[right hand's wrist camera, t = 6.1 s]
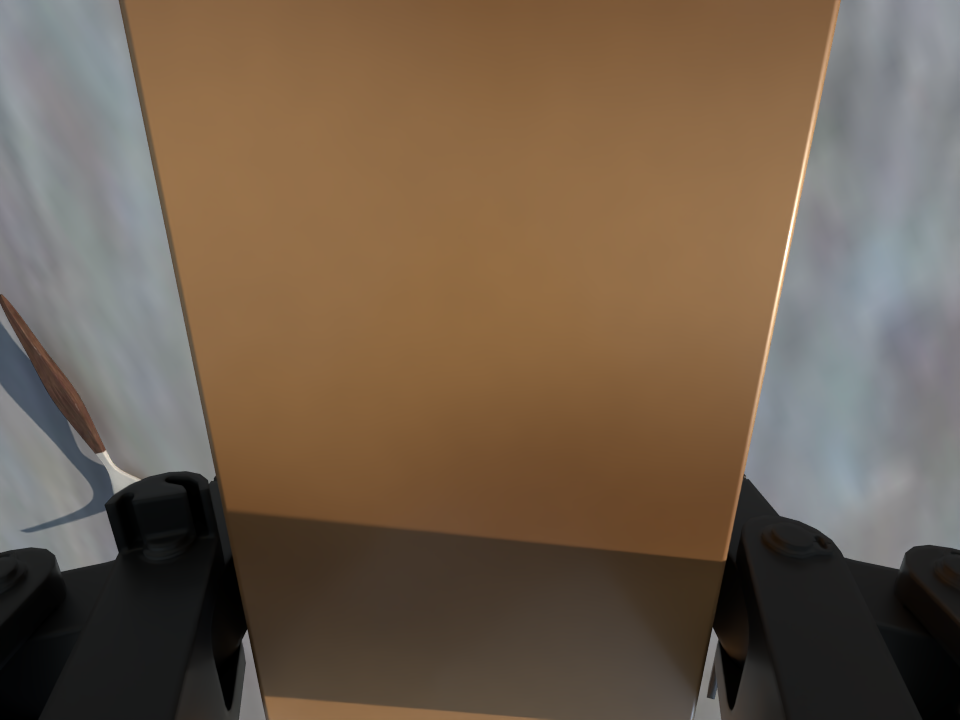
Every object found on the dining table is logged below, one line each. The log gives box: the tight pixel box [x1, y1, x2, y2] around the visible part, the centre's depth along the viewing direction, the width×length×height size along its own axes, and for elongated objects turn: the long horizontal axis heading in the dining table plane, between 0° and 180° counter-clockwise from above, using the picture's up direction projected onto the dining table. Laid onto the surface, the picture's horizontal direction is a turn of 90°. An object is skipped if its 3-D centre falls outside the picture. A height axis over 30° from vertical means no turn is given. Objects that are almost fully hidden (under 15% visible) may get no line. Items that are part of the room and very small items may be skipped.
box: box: [119, 0, 841, 720], centre depth 8 cm, size 21×6×8 cm, turn 0°
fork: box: [0, 294, 141, 495], centre depth 28 cm, size 3×16×2 cm, turn 17°
